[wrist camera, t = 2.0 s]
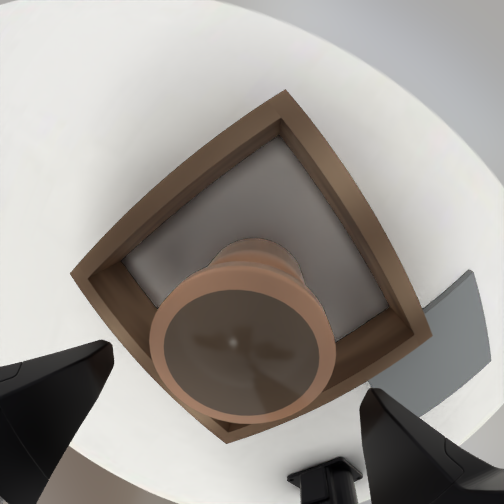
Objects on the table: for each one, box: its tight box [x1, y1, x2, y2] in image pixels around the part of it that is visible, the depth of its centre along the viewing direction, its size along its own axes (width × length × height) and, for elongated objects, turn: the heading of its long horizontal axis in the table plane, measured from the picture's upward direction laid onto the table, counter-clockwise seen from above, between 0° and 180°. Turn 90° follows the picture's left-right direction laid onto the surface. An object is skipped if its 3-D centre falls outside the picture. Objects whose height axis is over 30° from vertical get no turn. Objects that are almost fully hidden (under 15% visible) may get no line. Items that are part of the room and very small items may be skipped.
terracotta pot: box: [149, 238, 336, 424], centre depth 13 cm, size 7×7×8 cm
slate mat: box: [368, 270, 491, 417], centre depth 17 cm, size 11×11×1 cm
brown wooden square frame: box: [70, 89, 433, 444], centre depth 15 cm, size 15×15×4 cm
